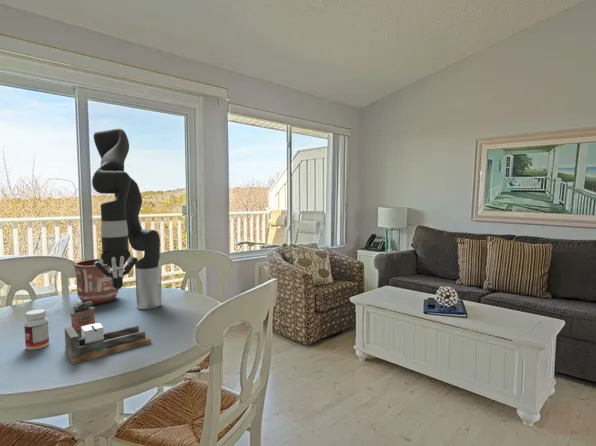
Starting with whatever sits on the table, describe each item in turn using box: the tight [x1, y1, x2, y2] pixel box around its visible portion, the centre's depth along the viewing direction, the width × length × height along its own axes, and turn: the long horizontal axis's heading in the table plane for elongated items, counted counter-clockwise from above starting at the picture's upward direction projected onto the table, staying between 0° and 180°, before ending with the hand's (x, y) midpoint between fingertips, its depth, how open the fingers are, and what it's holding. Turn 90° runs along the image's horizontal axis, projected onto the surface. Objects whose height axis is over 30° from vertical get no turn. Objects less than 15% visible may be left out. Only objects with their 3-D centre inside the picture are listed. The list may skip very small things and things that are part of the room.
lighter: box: [69, 301, 96, 335], centre depth 130 cm, size 8×3×10 cm, turn 148°
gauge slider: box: [80, 322, 104, 346], centre depth 112 cm, size 5×7×6 cm
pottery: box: [74, 258, 120, 306], centre depth 165 cm, size 18×18×18 cm
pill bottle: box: [23, 308, 50, 350], centre depth 117 cm, size 6×6×11 cm
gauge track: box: [64, 325, 152, 365], centre depth 116 cm, size 22×12×8 cm, turn 131°
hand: (117, 288), depth 117 cm, fingers closed
